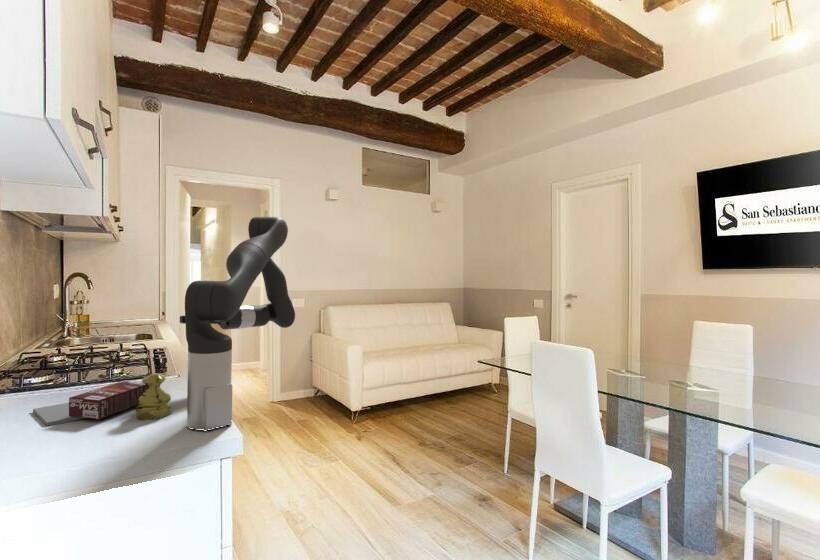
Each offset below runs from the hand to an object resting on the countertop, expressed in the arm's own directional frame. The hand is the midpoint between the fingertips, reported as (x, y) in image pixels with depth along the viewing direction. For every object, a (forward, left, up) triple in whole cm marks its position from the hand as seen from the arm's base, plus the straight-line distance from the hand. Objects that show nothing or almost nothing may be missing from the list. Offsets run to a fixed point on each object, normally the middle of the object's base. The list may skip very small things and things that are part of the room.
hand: (180, 319), depth 124 cm
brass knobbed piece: (-16, +13, -21) cm, 29 cm away
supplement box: (-1, +11, -18) cm, 21 cm away
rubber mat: (0, +23, -21) cm, 31 cm away
